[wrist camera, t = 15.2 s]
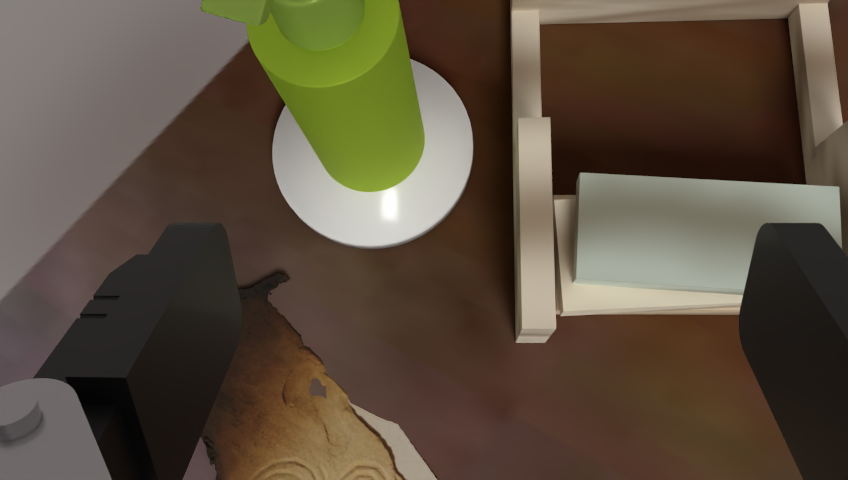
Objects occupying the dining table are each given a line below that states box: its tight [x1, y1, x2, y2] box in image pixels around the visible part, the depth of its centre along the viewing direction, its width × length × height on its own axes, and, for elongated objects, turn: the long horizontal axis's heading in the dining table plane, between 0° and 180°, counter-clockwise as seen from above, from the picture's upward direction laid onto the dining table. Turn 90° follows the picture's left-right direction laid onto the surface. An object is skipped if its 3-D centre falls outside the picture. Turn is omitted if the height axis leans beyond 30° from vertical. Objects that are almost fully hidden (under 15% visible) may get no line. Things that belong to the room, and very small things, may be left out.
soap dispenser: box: [201, 0, 425, 192], centre depth 32 cm, size 6×7×20 cm
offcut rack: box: [510, 0, 848, 343], centre depth 38 cm, size 20×17×6 cm
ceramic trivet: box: [272, 59, 473, 249], centre depth 42 cm, size 11×11×1 cm
